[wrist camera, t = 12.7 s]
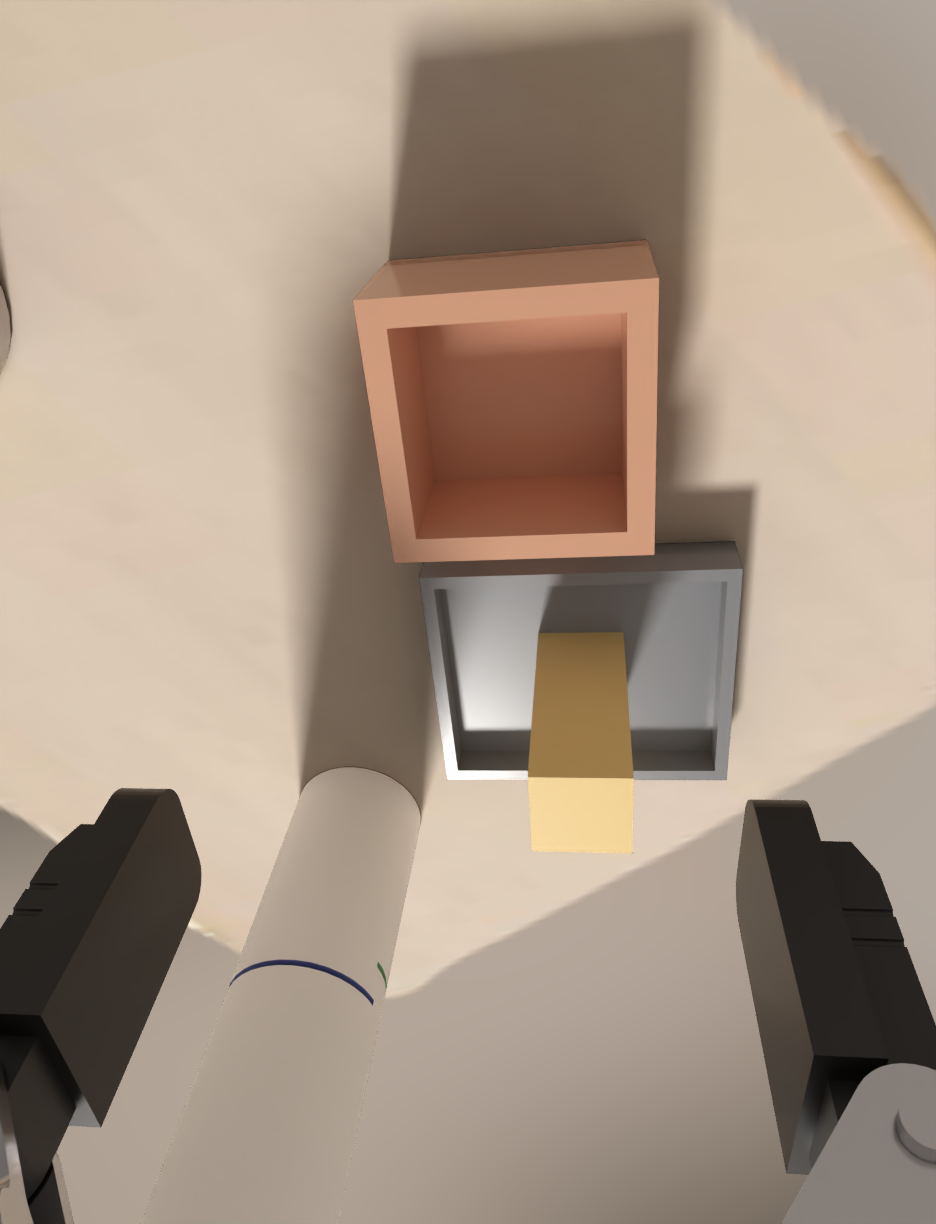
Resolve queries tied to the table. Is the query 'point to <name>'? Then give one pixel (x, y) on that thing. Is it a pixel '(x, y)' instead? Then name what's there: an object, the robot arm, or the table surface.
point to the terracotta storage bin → (515, 401)
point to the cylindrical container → (298, 1018)
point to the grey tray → (580, 603)
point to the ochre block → (581, 745)
